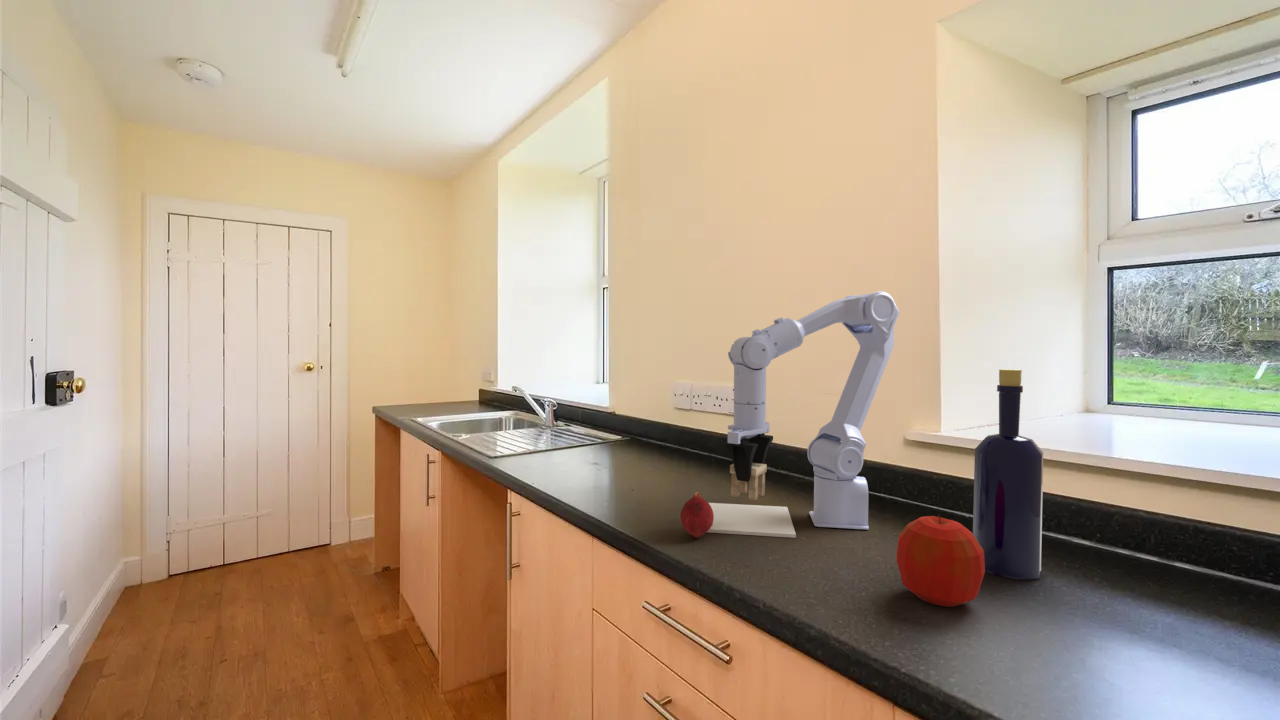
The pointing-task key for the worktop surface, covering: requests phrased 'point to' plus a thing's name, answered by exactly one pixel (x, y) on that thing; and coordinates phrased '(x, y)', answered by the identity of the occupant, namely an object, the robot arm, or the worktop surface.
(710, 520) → the onion
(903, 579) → the apple
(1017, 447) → the bottle
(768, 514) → the mat
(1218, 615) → the worktop surface
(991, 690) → the worktop surface
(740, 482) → the stool
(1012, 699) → the worktop surface
